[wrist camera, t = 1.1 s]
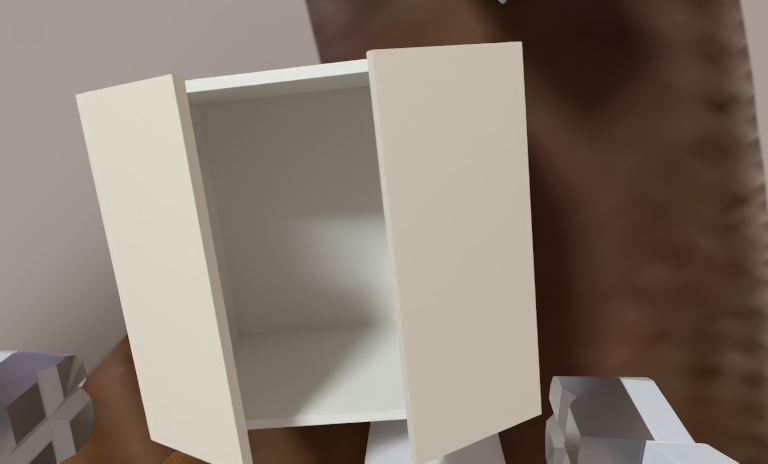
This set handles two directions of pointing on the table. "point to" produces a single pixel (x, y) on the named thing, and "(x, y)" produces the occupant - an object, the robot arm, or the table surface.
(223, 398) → the far flap
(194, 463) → the disposable coffee cup
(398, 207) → the near flap
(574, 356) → the table surface
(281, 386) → the carton
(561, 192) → the table surface
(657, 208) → the table surface
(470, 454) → the milk carton
